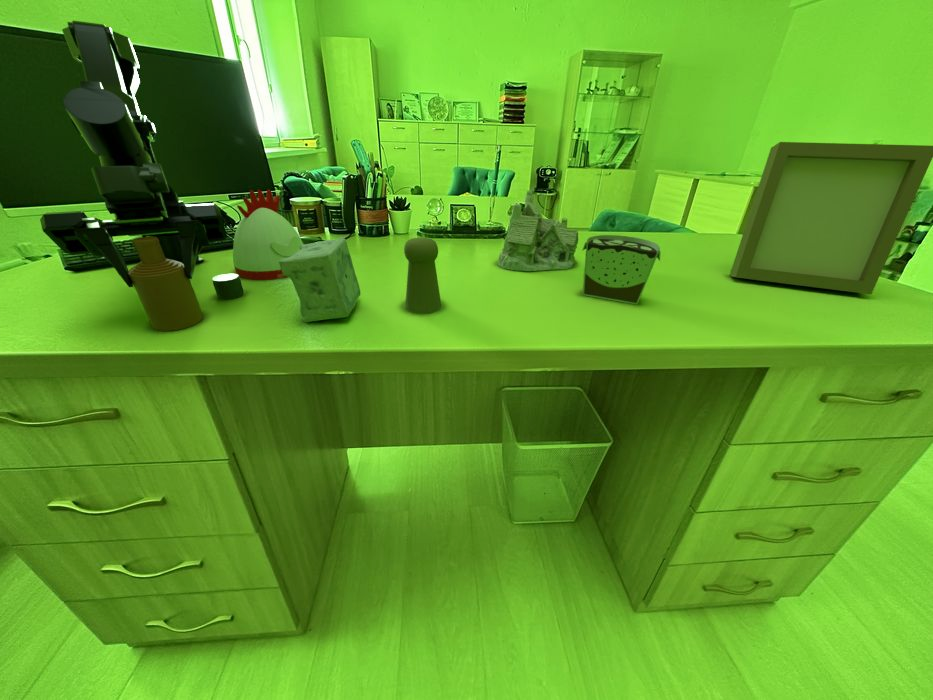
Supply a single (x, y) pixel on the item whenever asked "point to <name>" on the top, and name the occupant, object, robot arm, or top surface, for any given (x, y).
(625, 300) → the food container
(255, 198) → the kitchen timer
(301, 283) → the incense holder
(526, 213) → the ceramic cottage
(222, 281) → the cap
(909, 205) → the photo frame
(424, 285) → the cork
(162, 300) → the bottle
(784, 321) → the top surface
